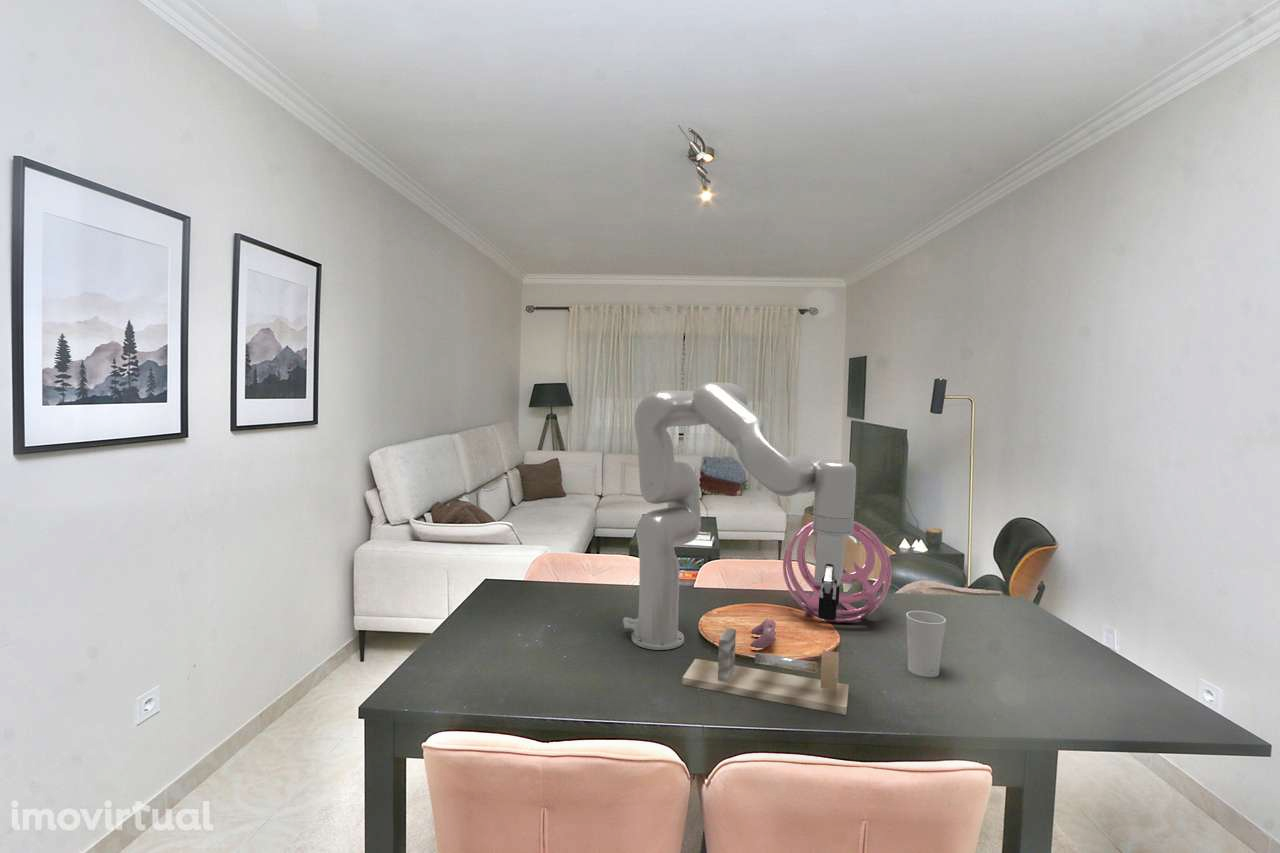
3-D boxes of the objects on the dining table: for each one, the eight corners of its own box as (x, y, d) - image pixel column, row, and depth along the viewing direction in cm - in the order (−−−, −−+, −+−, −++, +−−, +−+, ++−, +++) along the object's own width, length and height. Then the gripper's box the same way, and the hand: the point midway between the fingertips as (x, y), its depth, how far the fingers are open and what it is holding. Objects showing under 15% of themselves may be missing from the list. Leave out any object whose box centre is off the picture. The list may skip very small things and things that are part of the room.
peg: (753, 676, 129) (754, 646, 129) (757, 668, 133) (758, 639, 133) (836, 690, 124) (837, 660, 123) (837, 681, 128) (838, 652, 127)
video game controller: (765, 659, 148) (780, 634, 147) (748, 649, 149) (763, 624, 148) (765, 643, 158) (779, 619, 157) (749, 633, 159) (763, 610, 158)
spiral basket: (791, 526, 196) (804, 487, 172) (885, 556, 189) (912, 520, 165) (766, 613, 183) (776, 584, 160) (866, 648, 176) (892, 623, 153)
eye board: (682, 684, 131) (683, 636, 131) (695, 665, 141) (696, 620, 140) (846, 715, 120) (848, 663, 120) (848, 691, 130) (850, 643, 129)
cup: (941, 666, 143) (943, 613, 142) (945, 681, 136) (948, 625, 135) (902, 660, 146) (905, 608, 145) (904, 675, 138) (907, 620, 138)
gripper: (816, 514, 134) (813, 594, 135) (808, 531, 118) (804, 622, 119) (854, 517, 131) (850, 599, 132) (851, 535, 115) (847, 628, 116)
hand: (828, 610), depth 126 cm, fingers open, 9 cm apart
